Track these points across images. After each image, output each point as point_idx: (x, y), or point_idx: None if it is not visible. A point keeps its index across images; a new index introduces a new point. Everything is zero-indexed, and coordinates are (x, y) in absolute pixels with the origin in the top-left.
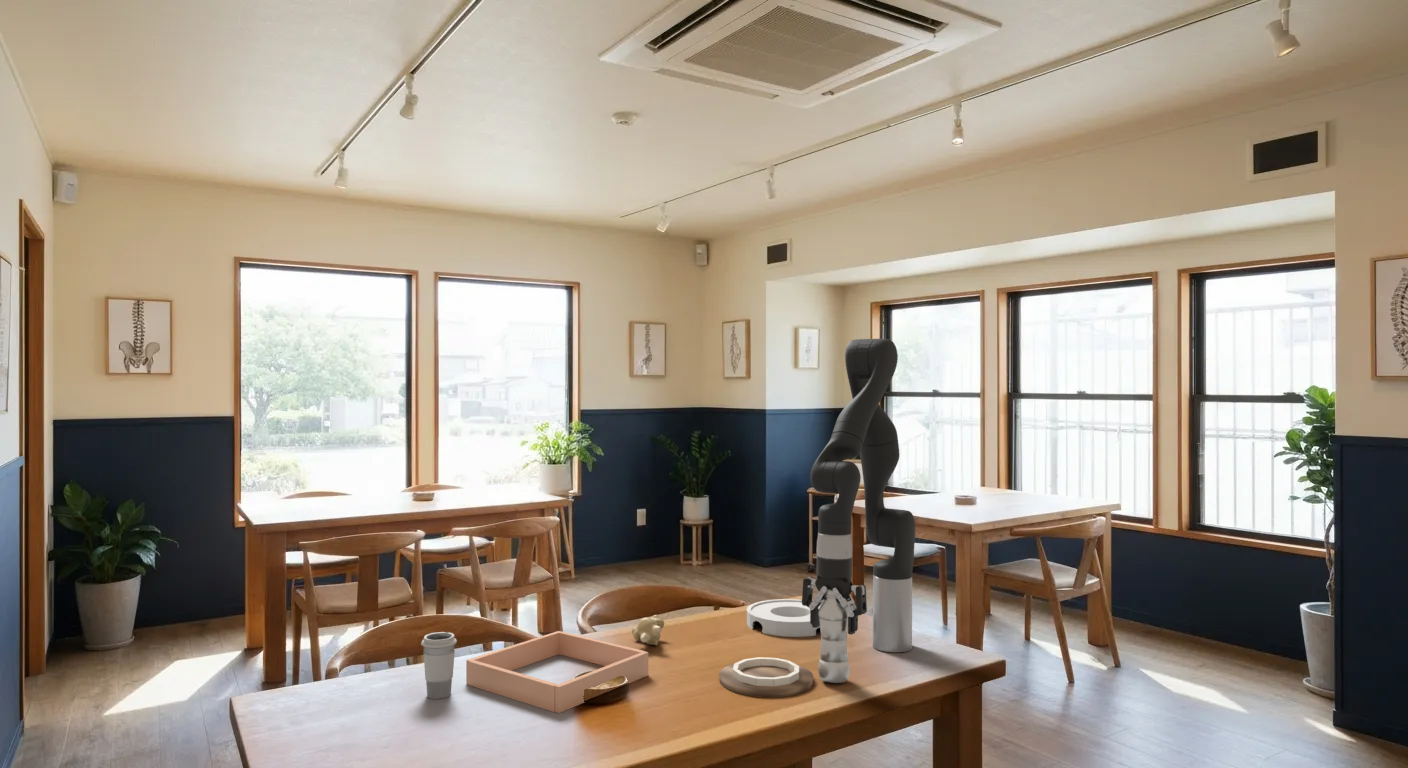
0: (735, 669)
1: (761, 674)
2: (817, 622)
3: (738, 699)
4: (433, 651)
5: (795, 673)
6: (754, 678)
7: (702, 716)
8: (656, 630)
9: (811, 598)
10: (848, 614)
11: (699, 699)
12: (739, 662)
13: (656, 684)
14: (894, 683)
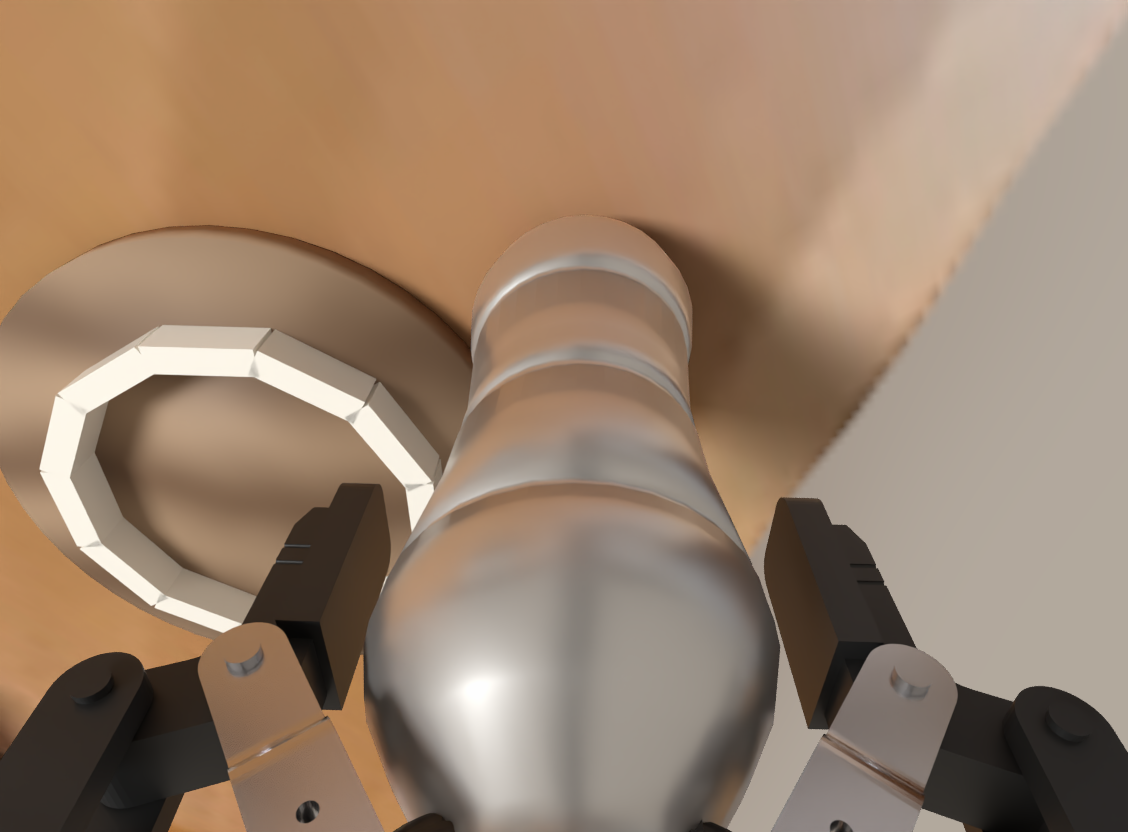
0: (161, 602)
1: (242, 497)
2: (373, 549)
3: (358, 673)
4: None
5: None
6: None
7: (377, 795)
8: None
9: (120, 755)
10: (778, 657)
11: None
12: (75, 519)
13: (13, 696)
14: (978, 79)
